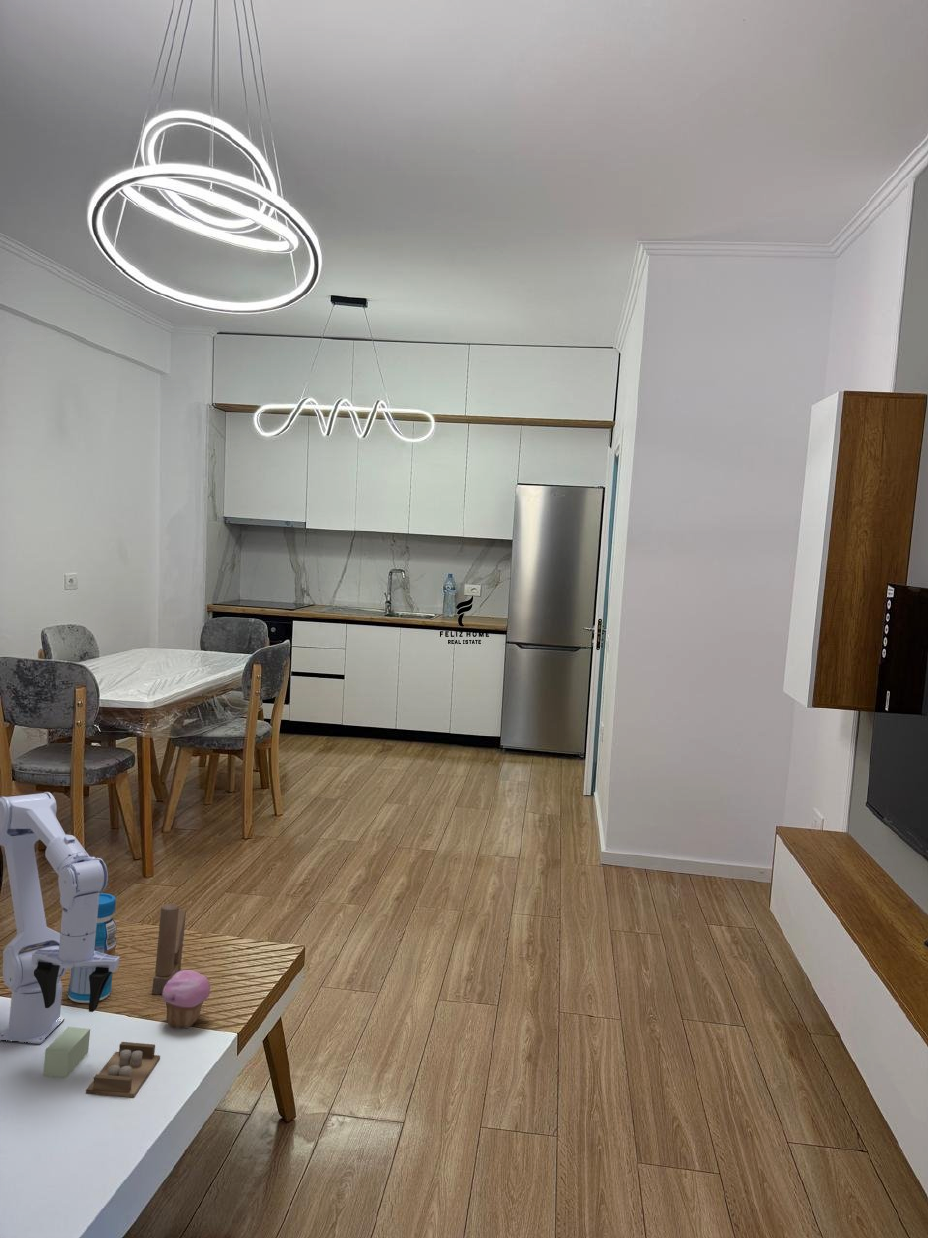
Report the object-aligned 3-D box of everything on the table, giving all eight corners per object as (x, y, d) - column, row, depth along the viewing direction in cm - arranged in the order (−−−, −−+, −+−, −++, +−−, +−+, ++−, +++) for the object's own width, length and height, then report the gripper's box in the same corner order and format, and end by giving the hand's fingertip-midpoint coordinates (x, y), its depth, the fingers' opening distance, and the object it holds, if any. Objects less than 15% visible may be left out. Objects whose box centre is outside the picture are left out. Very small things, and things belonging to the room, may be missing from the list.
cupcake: (174, 1009, 168) (179, 960, 168) (214, 1017, 166) (219, 967, 166) (151, 1030, 159) (155, 978, 159) (192, 1038, 158) (197, 986, 158)
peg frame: (115, 1055, 150) (116, 1040, 150) (159, 1059, 150) (161, 1044, 150) (85, 1093, 138) (87, 1077, 138) (133, 1097, 138) (135, 1082, 138)
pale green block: (66, 1051, 150) (68, 1026, 150) (88, 1053, 150) (90, 1029, 150) (43, 1076, 142) (45, 1050, 142) (66, 1078, 142) (68, 1052, 142)
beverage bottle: (73, 1008, 165) (82, 908, 165) (61, 991, 171) (70, 894, 171) (117, 999, 170) (126, 901, 170) (104, 982, 177) (113, 889, 177)
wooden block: (180, 973, 184) (188, 892, 184) (169, 995, 174) (177, 909, 174) (163, 972, 184) (170, 891, 184) (151, 995, 173) (159, 909, 173)
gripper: (25, 935, 142) (17, 1014, 142) (110, 943, 142) (102, 1022, 142) (45, 920, 149) (38, 995, 149) (126, 927, 149) (119, 1003, 149)
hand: (71, 1007), depth 146 cm, fingers open, 7 cm apart
